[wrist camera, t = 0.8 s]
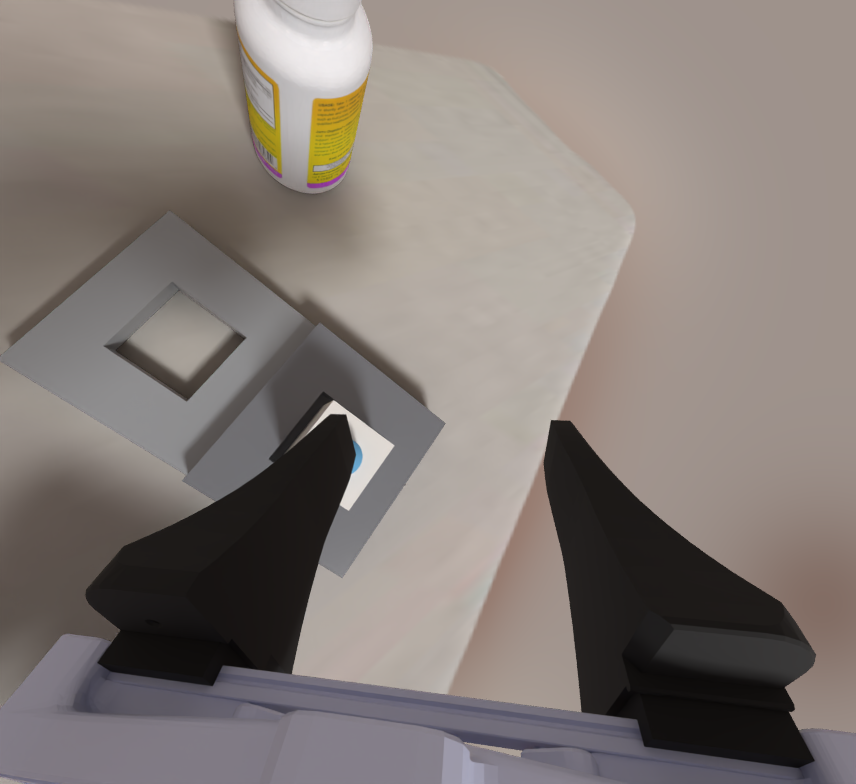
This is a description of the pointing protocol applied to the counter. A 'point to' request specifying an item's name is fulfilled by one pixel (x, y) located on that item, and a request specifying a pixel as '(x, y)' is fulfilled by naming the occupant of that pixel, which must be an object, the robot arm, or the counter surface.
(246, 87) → the supplement bottle
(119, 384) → the jack panel
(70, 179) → the counter surface
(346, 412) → the plug block
